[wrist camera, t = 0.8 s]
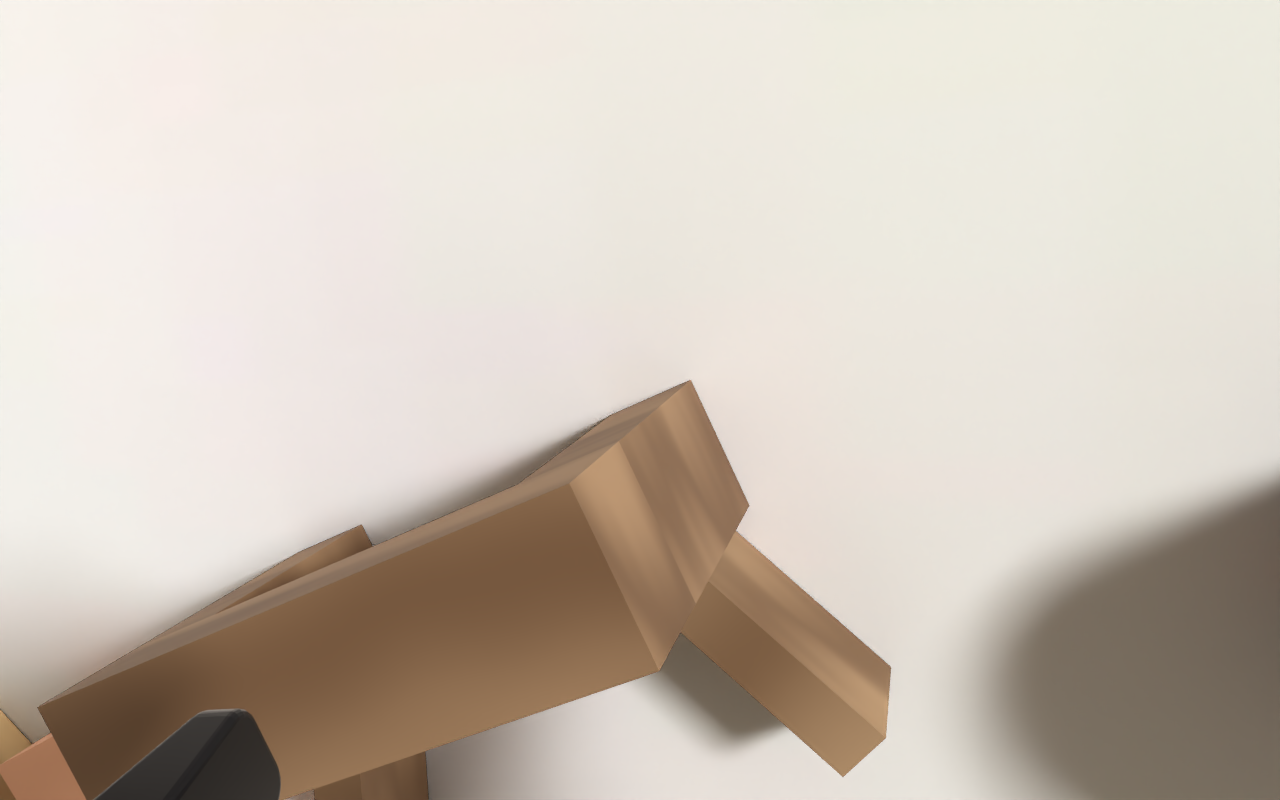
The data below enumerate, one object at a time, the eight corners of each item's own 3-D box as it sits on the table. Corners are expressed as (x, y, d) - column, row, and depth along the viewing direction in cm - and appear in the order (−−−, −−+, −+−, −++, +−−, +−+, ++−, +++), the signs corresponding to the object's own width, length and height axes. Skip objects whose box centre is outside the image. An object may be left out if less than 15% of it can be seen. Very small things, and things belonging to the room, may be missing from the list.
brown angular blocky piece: (900, 687, 22) (887, 947, 15) (396, 843, 27) (188, 1105, 19) (746, 355, 22) (652, 448, 14) (257, 570, 26) (-14, 729, 19)
